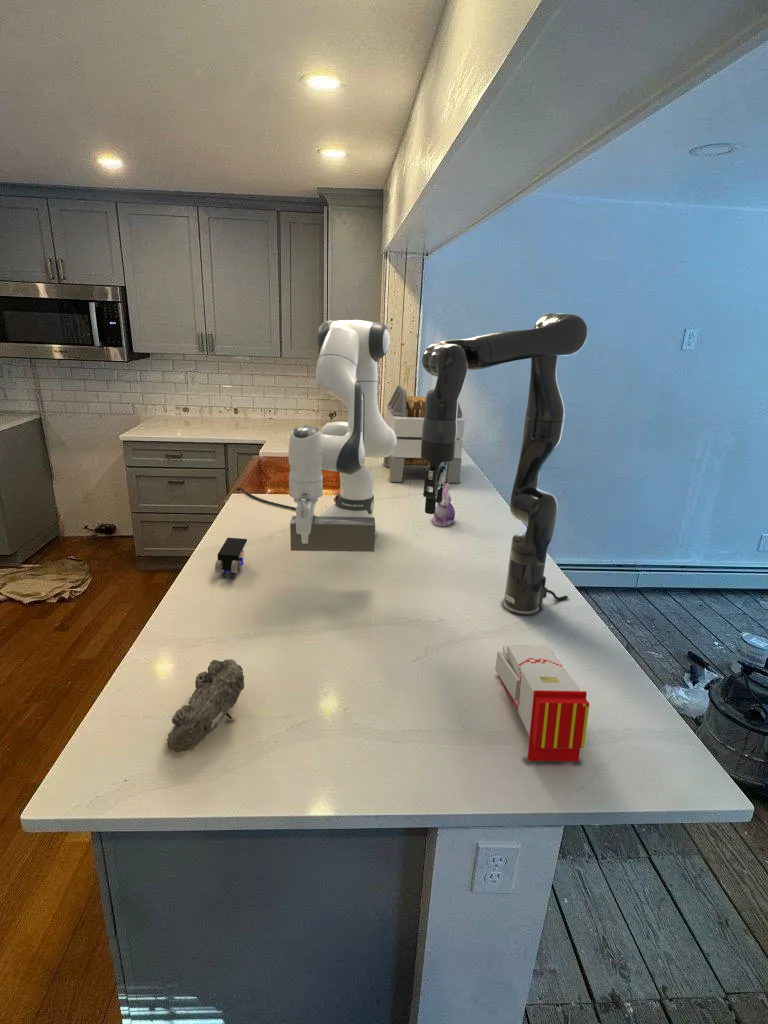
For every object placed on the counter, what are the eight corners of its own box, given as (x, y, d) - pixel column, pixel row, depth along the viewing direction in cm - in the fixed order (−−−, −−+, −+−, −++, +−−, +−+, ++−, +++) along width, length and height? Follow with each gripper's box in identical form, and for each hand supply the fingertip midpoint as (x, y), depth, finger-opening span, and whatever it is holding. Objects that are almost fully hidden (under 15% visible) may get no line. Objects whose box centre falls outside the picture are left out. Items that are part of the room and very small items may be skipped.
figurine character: (238, 584, 162) (249, 557, 175) (236, 562, 158) (247, 536, 172) (215, 584, 161) (227, 556, 175) (212, 561, 158) (225, 535, 171)
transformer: (382, 463, 289) (386, 382, 275) (445, 464, 293) (451, 384, 279) (390, 482, 257) (394, 392, 243) (460, 483, 261) (468, 394, 247)
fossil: (192, 660, 117) (244, 628, 112) (224, 691, 120) (276, 661, 115) (142, 746, 98) (202, 712, 93) (182, 779, 101) (242, 748, 96)
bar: (290, 550, 152) (290, 523, 149) (292, 542, 157) (292, 515, 154) (374, 551, 153) (375, 525, 150) (373, 543, 159) (374, 517, 156)
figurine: (440, 528, 206) (443, 489, 201) (425, 519, 214) (428, 481, 209) (461, 525, 210) (465, 486, 205) (446, 516, 219) (449, 478, 214)
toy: (545, 627, 125) (599, 699, 96) (539, 683, 128) (590, 769, 99) (490, 626, 125) (528, 698, 96) (486, 682, 128) (522, 768, 98)
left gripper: (315, 501, 139) (315, 553, 144) (319, 477, 159) (319, 523, 163) (289, 501, 139) (290, 552, 144) (297, 477, 158) (297, 523, 163)
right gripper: (450, 446, 117) (444, 519, 122) (460, 433, 130) (454, 500, 135) (415, 442, 119) (410, 515, 124) (428, 430, 132) (424, 496, 137)
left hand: (306, 537), depth 154 cm, fingers closed on bar, 6 cm apart
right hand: (433, 507), depth 130 cm, fingers open, 8 cm apart
